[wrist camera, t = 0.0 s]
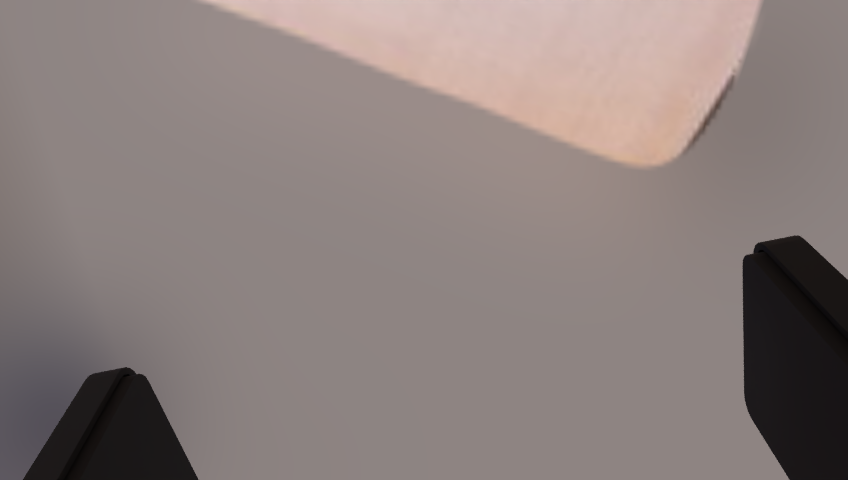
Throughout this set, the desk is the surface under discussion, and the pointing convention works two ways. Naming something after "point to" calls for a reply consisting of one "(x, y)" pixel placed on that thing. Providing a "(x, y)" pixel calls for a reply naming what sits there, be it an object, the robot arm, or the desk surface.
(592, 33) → the desk surface
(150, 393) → the robot arm
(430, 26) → the desk surface
